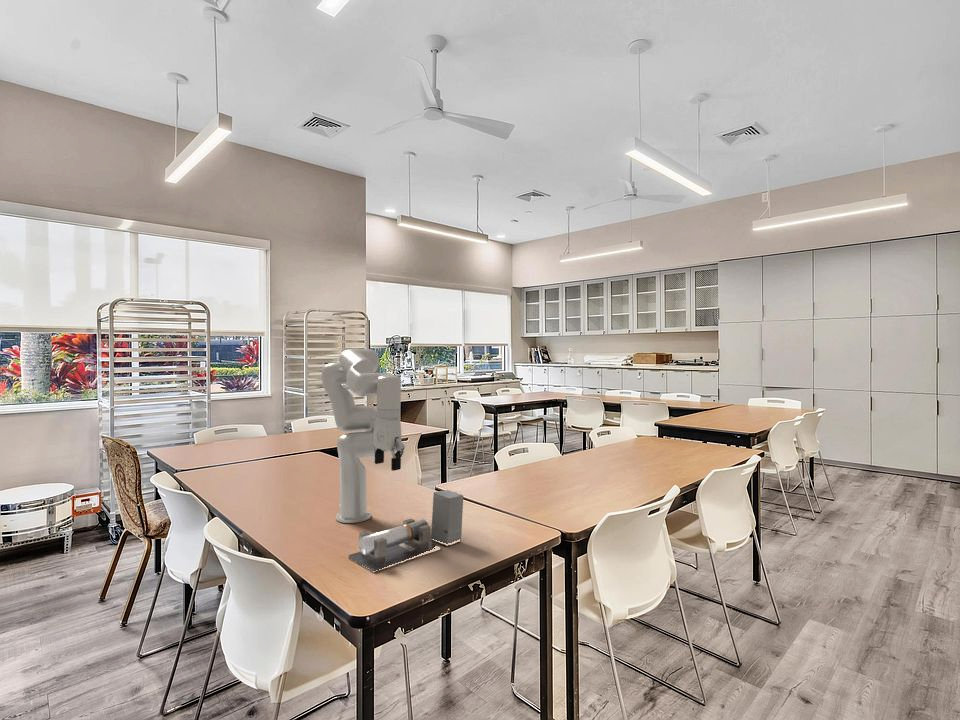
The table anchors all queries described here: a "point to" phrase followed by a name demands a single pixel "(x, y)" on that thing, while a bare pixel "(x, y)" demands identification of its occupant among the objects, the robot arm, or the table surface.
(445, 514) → the skincare box
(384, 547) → the plate with corner blocks
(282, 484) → the table surface
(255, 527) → the table surface
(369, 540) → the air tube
